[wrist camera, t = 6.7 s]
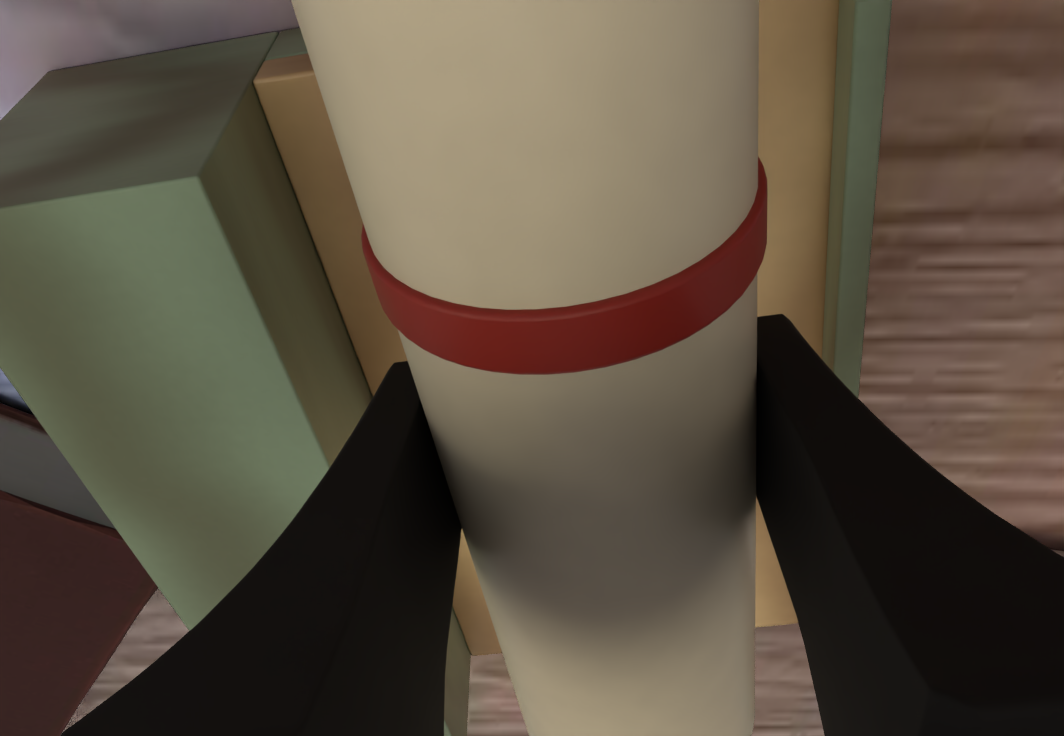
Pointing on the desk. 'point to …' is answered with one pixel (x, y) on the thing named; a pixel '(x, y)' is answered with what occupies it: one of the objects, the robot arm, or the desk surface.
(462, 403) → the red-banded cream cylinder
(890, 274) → the desk surface
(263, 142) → the tray with green block
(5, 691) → the book
